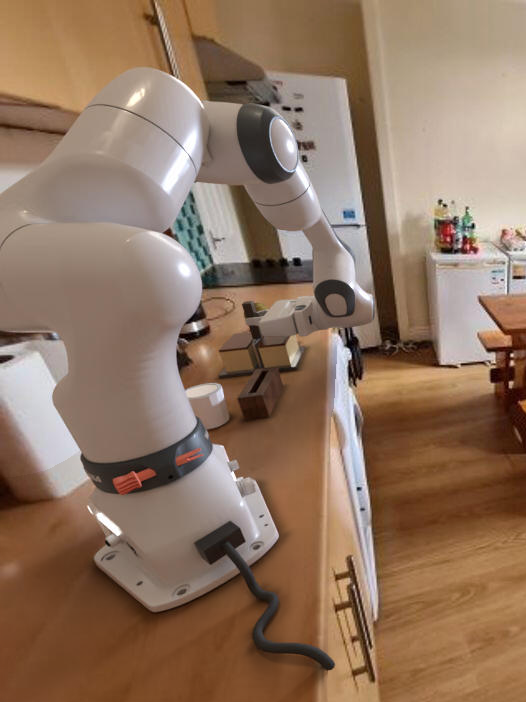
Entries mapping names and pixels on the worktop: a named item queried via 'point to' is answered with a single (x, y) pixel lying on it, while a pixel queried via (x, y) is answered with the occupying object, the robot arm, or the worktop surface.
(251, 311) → the knife
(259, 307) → the kiwi fruit
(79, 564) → the worktop surface
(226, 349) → the cake
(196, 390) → the white cylinder
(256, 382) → the knife block
